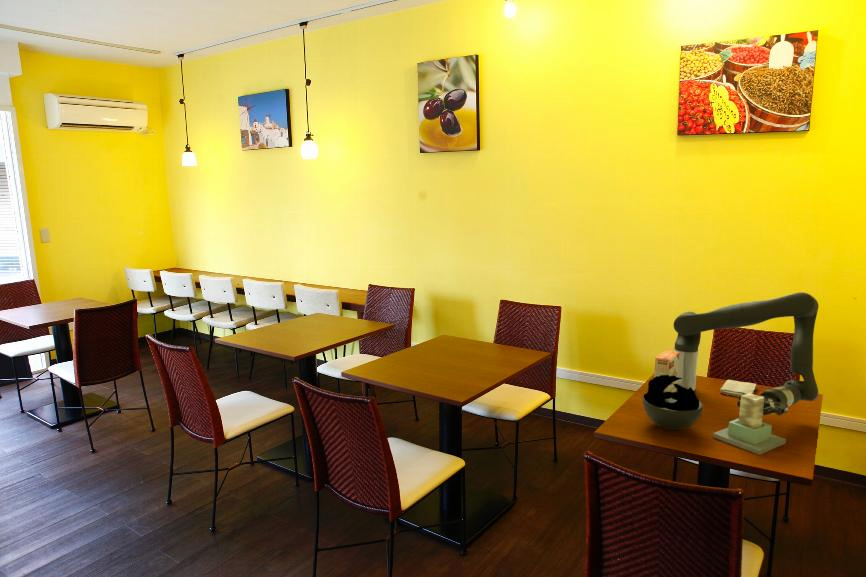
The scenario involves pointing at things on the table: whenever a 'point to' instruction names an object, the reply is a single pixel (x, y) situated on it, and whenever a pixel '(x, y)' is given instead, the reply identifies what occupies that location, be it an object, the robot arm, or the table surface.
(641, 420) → the table surface
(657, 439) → the table surface
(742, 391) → the washcloth
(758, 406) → the square peg
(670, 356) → the cracker box
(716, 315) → the robot arm
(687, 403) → the coal bowl
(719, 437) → the socket holder
